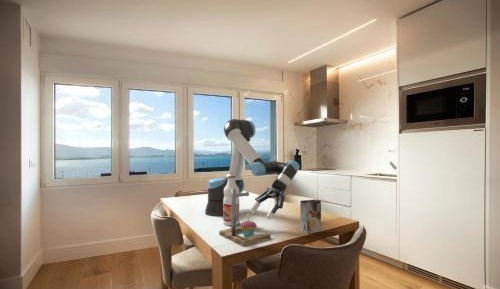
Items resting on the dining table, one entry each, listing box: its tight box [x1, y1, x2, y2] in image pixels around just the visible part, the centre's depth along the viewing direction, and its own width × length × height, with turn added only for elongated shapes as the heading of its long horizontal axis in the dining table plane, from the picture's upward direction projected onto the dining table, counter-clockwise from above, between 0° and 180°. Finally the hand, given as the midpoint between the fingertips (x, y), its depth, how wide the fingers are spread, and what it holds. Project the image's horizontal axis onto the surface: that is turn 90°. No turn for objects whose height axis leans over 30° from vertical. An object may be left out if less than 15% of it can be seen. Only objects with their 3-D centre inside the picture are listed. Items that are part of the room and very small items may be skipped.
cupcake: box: [239, 211, 258, 238], centre depth 136 cm, size 9×8×12 cm
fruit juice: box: [222, 175, 240, 227], centre depth 158 cm, size 9×9×28 cm
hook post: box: [231, 189, 250, 236], centre depth 133 cm, size 2×10×22 cm, turn 128°
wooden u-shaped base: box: [218, 225, 272, 247], centre depth 135 cm, size 20×17×2 cm
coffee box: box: [299, 199, 322, 234], centre depth 144 cm, size 9×6×16 cm
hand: (259, 215), depth 141 cm, fingers open, 13 cm apart
